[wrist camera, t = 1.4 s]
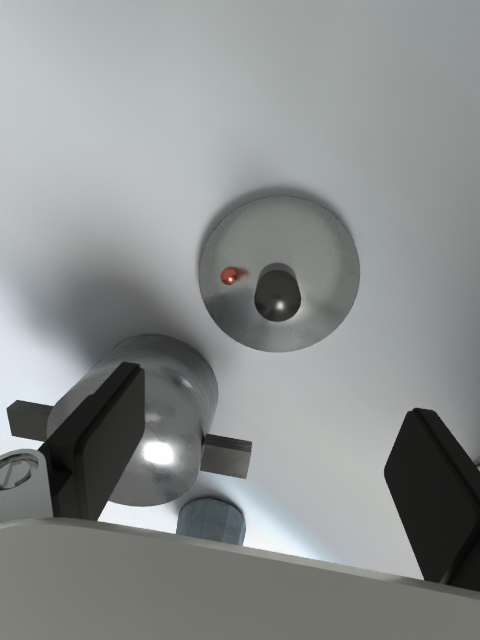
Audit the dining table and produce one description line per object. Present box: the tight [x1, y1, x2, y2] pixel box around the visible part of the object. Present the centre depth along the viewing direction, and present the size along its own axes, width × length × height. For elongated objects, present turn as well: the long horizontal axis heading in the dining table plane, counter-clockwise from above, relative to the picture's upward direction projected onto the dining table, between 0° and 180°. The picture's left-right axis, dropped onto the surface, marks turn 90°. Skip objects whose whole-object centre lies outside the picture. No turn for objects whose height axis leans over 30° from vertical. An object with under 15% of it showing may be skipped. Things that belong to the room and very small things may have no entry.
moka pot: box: [176, 498, 246, 546], centre depth 32 cm, size 10×15×20 cm, turn 6°
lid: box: [199, 196, 360, 352], centre depth 25 cm, size 14×14×6 cm
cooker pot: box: [6, 334, 252, 507], centre depth 30 cm, size 21×13×9 cm, turn 83°
